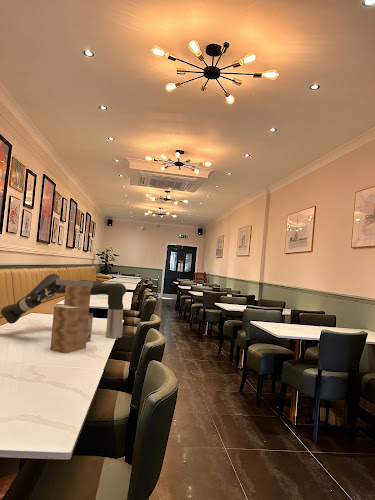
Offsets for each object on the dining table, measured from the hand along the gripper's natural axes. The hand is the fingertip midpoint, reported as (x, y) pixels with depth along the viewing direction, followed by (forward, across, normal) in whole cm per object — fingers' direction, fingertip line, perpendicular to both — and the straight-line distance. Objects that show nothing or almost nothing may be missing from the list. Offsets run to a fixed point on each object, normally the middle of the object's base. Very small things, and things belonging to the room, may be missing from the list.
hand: (50, 290), depth 196 cm
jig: (+2, -3, +34) cm, 34 cm away
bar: (+15, 0, +5) cm, 16 cm away
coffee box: (-5, +16, +30) cm, 34 cm away
